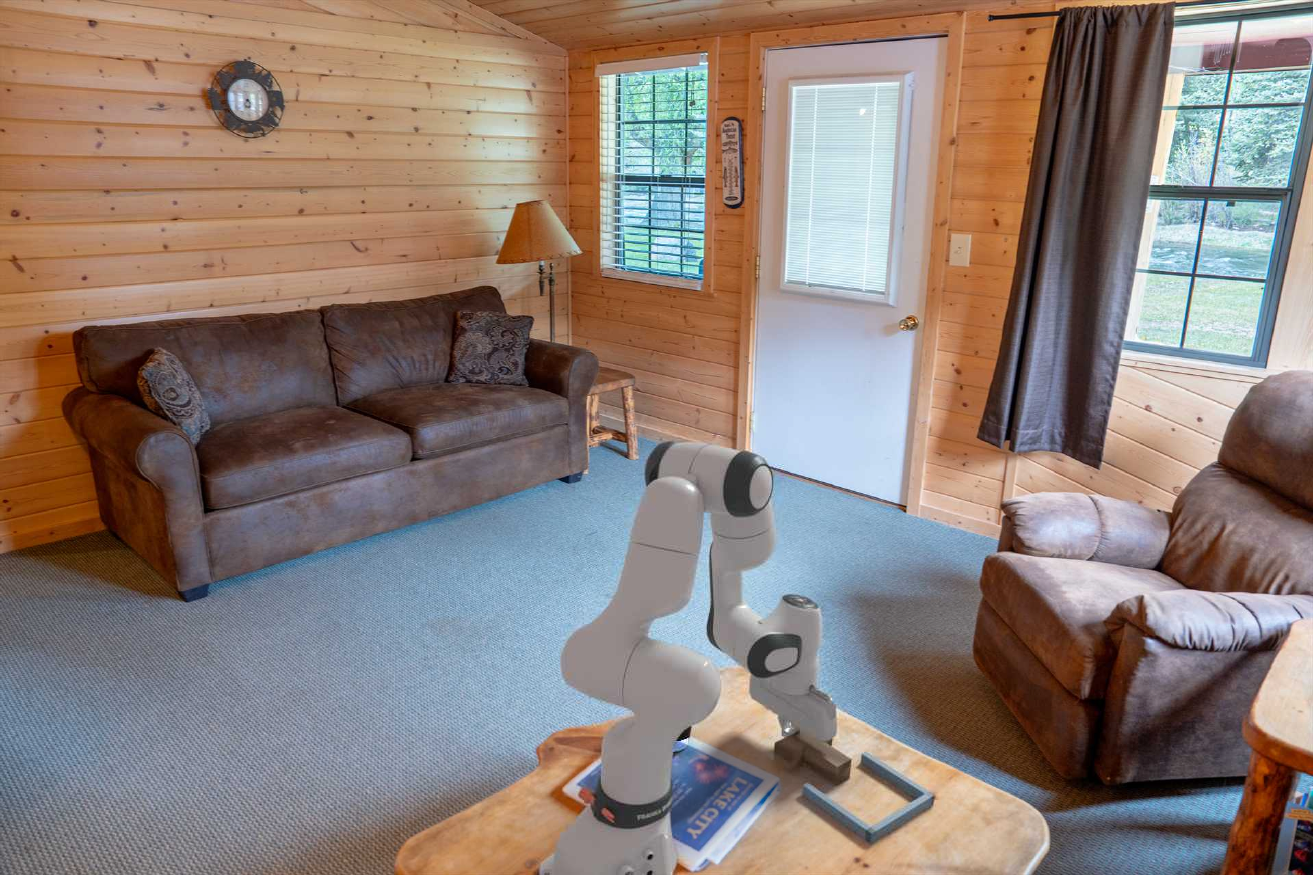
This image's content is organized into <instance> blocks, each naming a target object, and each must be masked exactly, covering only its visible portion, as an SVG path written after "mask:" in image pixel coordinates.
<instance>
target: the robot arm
mask: <svg viewBox="0 0 1313 875" xmlns="http://www.w3.org/2000/svg"><path fill="white" fill-rule="evenodd" d="M648 455H649V456H648V457H647V458H646V459H647V460H646V462H645V466H644V483H645V486H646V487H645V490H644V493H643V495H642V498H641V500H640V502H639V505H638V507H637V510H636V514H635V517H634V520H633V523H632V527H631V531H630V536H629V541H628V545H627V551H626V555H625V560H624V564H623V567H622V571H621V574H620V579H619V581H618V585H617V588H616V589H615V590H616V591H615V593H614V594H613V597H612V598H611V600H610V602H609V603H608V605H607V606H606V607H605V609H604V610H603V611H602V612H601V613H600V614H599V615H598V616H597V617H595V619H593V620H592V621H591V622H589V623H587V624H585V625H583V626H581V627H578V629H576V630H575V631H574V632H572V633H571V634H570V636H569V637H568V639H567V640H566V641H565V643H564V645H563V648H562V651H561V655H560V663H559V664H560V671H561V676H562V678H563V680H564V682H565V683H566V685H568V686H569V687H571V688H573V689H574V690H577V692H580V693H581V694H583V695H585V696H587V697H589V698H591V699H594V700H598V701H601V702H604V703H607V704H612V705H614V706H617V707H621V708H625V709H627V710H629V711H631V712H632V713H633V715H632V716H629V717H626V718H623V719H621V720H619V721H617V722H615V723H614V724H613V725H611V726H610V728H608V730H606V732H605V734H604V736H603V739H602V742H601V746H600V747H601V751H600V752H601V754H600V755H601V757H600V760H601V761H600V776H599V778H598V781H597V782H596V786H595V788H594V790H593V791H591V789H590V788H589V787H588V786H586V785H585V786H582V787H581V788H580V789H579V791H578V794H577V795H578V798H579V799H580V800H582V801H583V802H584V803H585V804H586V805H587V806H586V807H585V808H584V809H583V811H581V813H580V814H579V815H578V816H577V817H576V818H575V819H574V820H573V821H572V822H571V823H570V824H569V826H567V827H566V828H565V830H563V832H561V834H560V835H559V836H558V838H557V841H556V845H555V849H554V852H553V853H552V854H550V855H549V856H547V857H546V858H545V859H544V860H542V861H541V862H539V871H538V873H539V875H673V874H674V871H675V870H676V867H677V863H678V856H677V857H676V852H677V850H675V849H676V847H675V843H674V838H673V830H672V823H671V810H672V806H673V798H674V797H673V796H674V795H673V794H674V792H673V790H674V786H673V785H674V783H673V779H672V776H671V775H672V765H673V764H672V763H673V757H674V755H673V754H674V753H673V749H674V745H675V743H676V740H677V738H678V737H679V736H680V734H681V733H682V732H683V731H684V730H685V729H687V728H688V727H690V726H692V727H693V726H694V725H697V724H699V723H701V722H703V721H705V719H707V718H708V717H709V716H710V715H711V714H712V713H713V712H714V711H715V708H716V707H717V704H718V703H719V700H720V697H721V692H722V681H721V674H720V671H719V669H718V667H717V665H716V663H715V661H713V659H710V658H708V657H706V656H704V655H702V654H701V653H698V652H696V651H694V650H692V649H690V648H689V647H685V646H682V645H681V646H680V645H677V644H674V643H669V642H665V641H661V640H658V639H654V638H651V637H649V633H650V632H649V631H650V628H651V626H652V624H653V623H654V622H655V620H657V619H661V618H664V617H668V616H670V615H675V614H677V613H679V612H681V611H682V610H683V609H684V608H686V606H687V605H688V604H689V602H690V601H691V598H692V593H693V589H694V588H693V587H694V583H695V578H696V574H697V573H696V572H697V569H698V568H697V567H698V563H699V558H700V552H701V545H702V542H703V541H702V540H703V539H702V538H703V531H704V517H705V516H704V514H705V513H706V514H709V516H710V518H709V519H710V527H711V535H712V542H711V544H710V547H709V554H708V556H709V557H708V567H709V572H708V573H709V594H710V595H709V596H710V603H709V605H710V607H709V613H708V617H707V621H706V627H705V628H706V636H707V639H708V641H709V643H710V645H712V646H713V647H714V648H715V649H717V650H719V651H720V652H722V653H724V654H725V655H727V657H729V658H730V659H731V660H732V661H734V662H735V663H737V664H738V665H739V666H740V667H741V668H742V669H744V670H745V671H746V672H748V673H749V674H750V676H749V685H748V686H749V688H748V693H749V695H750V698H751V699H752V700H753V701H755V702H756V703H758V704H760V705H761V706H763V707H764V708H766V709H768V710H769V711H770V712H773V713H774V714H776V715H777V720H778V723H779V726H780V728H781V736H782V738H785V737H788V736H790V735H792V734H794V733H796V732H798V731H800V730H802V731H804V732H805V733H807V734H808V735H810V736H812V737H813V738H815V739H816V740H818V741H819V742H821V743H824V742H826V741H828V740H830V739H832V738H833V739H834V738H835V737H836V736H837V731H838V718H837V704H836V703H835V702H834V700H833V699H832V696H831V695H830V694H829V693H827V692H824V691H822V690H821V689H819V688H818V681H819V670H820V668H819V667H820V659H819V651H820V648H821V646H822V638H823V636H822V635H823V615H822V611H821V608H820V606H819V605H818V603H817V602H815V601H814V600H811V599H810V598H808V597H806V596H803V595H800V594H795V593H794V594H792V593H791V594H790V593H788V594H783V595H782V596H781V597H780V600H779V602H778V605H777V606H776V607H775V609H773V610H772V611H771V612H770V613H769V614H767V615H765V617H762V616H760V615H759V614H758V613H757V612H756V611H754V610H753V609H752V608H751V606H749V604H748V603H747V602H746V599H745V598H744V593H743V592H744V590H743V589H744V586H743V585H744V584H743V583H744V582H743V580H744V579H743V572H747V571H750V570H755V569H758V568H759V567H760V566H761V567H762V565H764V564H765V563H766V562H768V560H769V559H771V557H772V556H773V554H774V553H775V551H776V545H777V530H776V529H777V528H776V520H775V514H774V508H773V502H772V499H771V498H772V494H773V490H774V474H773V471H772V469H771V467H770V465H769V463H768V462H767V461H766V459H765V458H764V457H762V456H761V455H759V454H757V453H754V452H752V451H748V450H737V449H733V448H730V447H725V446H721V445H716V444H715V443H708V442H707V443H706V442H697V441H696V442H694V441H686V442H684V441H683V440H671V441H670V440H669V441H663V442H660V443H659V444H658V445H656V446H655V448H654V449H653V450H652V451H651V452H650V454H648Z"/></svg>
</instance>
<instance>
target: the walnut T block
mask: <svg viewBox="0 0 1313 875" xmlns="http://www.w3.org/2000/svg"><path fill="white" fill-rule="evenodd" d="M833 740H834V737H833V738H832V739H830V740H828V741H826V742H824V743H821V742H819V741H818V740H816V739H815V738H813V737H812V736H810V735H808V734H807V733H805V732H804V731H802V730H800V731H798V732H796V733H794V734H792V735H790V736H788V737H785V738H784V737H782V738H781V739H780V740H777V741H775V742H774V750H773V758H772V759H773V762H774V763H775V764H777V765H778V766H780V768H782V769H784V770H786V771H787V772H791V771H792V770H795V769H796V768H798V767H800V766H802V765H804V766H805V767H807V768H808V769H810V770H811V771H813V772H814V773H816V774H817V775H819V776H820V777H822V778H823V779H825V781H827V782H828V783H831V784H832V785H833V786H838V785H839V784H842V783H843V782H845V781H847V780H848V779H850V777H851V770H852V758H851V757H849V756H847V755H846V754H844V753H843V752H841V751H839V749H836V748H835V747H833Z"/></svg>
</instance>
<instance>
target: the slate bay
mask: <svg viewBox="0 0 1313 875" xmlns="http://www.w3.org/2000/svg"><path fill="white" fill-rule="evenodd" d="M860 764H862V765H864V766H865V767H866V768H868V769H870V770H871V771H873V772H874V773H876V774H878V775H879V776H881V777H882V778H883V779H886V780H887V781H888V782H890V783H891V784H893V785H895V786H897V787H898V788H899V789H901V790H902V791H904V792H905V793H907V794H908V795H910V796H912V797H914V798H915V800H913V801H911V802H910V803H907V804H906V805H904V806H903V807H901V808H900V809H897V811H894V812H893V813H891V814H890V815H888V816H886V817H885V818H883V819H881V820H880V821H878V822H877V823H875V824H873V825H872V826H870V825H869V824H867V823H866V822H864V821H863V820H862V819H861V818H858V817H857V816H856V815H854V814H853V813H851V812H850V810H847V808H846V809H845V808H844V807H843V806H841V804H839V803H837V802H836V801H834V800H833V799H831V798H830V797H829V796H827V795H826V794H824V793H823V792H822V791H820V790H819V789H817V788H816V787H814V786H813V785H811V784H810V783H809V782H806V783H804V784H803V785H802V790H801V795H802V796H803V797H805V798H806V799H808V801H810V802H812V803H813V804H814V805H816V806H818V807H819V808H820V809H821V810H823V811H824V812H826V813H827V814H828V815H830V816H832V817H833V818H834V819H835V820H836V821H838V822H839V823H841V824H843V825H844V826H845V827H846V828H848V829H849V830H850V831H852V832H854V833H855V834H856V835H858V836H859V837H860V838H862V839H863V840H865V841H866V842H867V843H868V844H871V845H872V844H873V843H874V842H876V841H878V840H879V839H881V838H882V837H885V836H886V835H887V834H889V833H891V832H892V831H893V830H896V829H897V828H898V827H900V826H901V825H903V824H905V823H906V822H908V821H909V820H912V818H914V817H916V816H917V815H920V813H922V812H924V811H925V810H927V809H929V808H930V807H931V806H933V805H934V804H935V797H936V794H935V793H932V792H931V791H929V790H928V789H926V788H925V787H923V786H922V785H920V784H918V783H917V782H915V781H914V780H912V779H910V778H909V777H907V776H906V775H904V774H903V773H901V772H899V771H898V770H896V769H894V768H893V767H891V766H890V765H888V764H887V763H885V762H883V761H882V760H880V759H879V758H877V757H875V756H873V755H872V754H870V753H869V752H867V751H864V752H861V758H860Z"/></svg>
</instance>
